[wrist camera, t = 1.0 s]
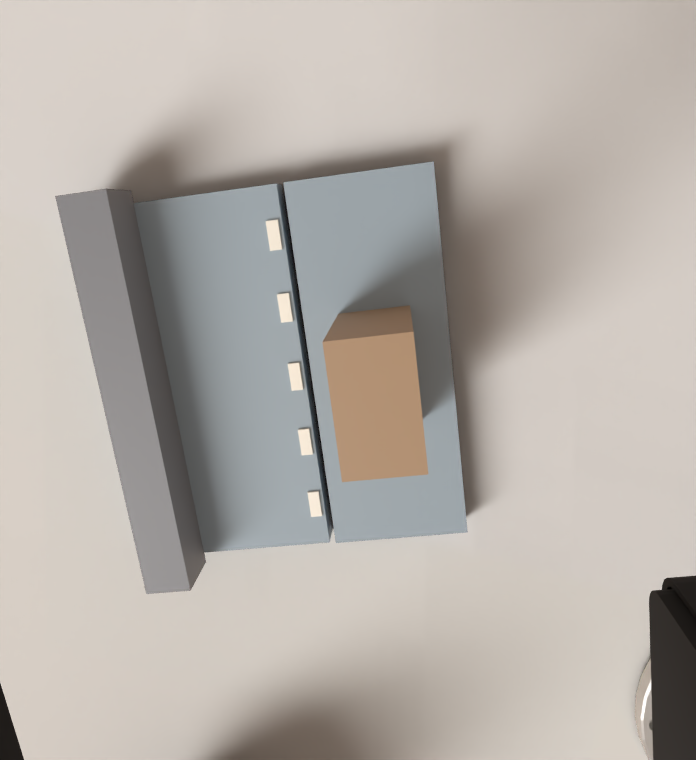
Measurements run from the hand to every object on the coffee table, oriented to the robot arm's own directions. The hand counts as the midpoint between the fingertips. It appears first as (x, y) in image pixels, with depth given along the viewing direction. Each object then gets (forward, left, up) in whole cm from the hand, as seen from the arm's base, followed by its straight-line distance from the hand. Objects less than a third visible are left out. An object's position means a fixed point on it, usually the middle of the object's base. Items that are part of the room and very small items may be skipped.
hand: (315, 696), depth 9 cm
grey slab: (0, 0, -21) cm, 21 cm away
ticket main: (+7, 0, -21) cm, 22 cm away
